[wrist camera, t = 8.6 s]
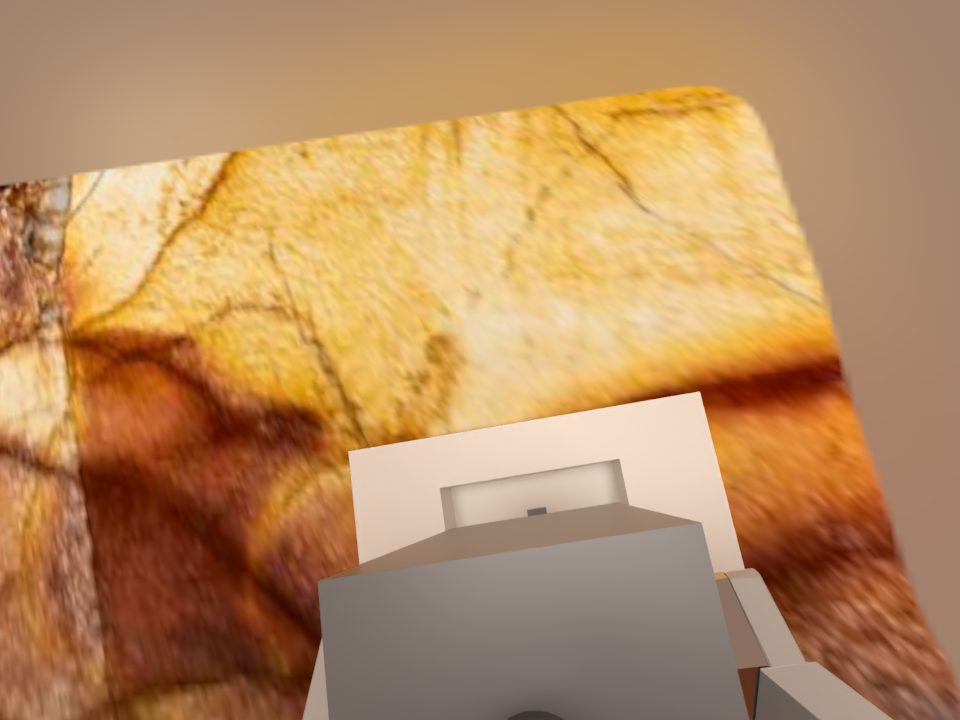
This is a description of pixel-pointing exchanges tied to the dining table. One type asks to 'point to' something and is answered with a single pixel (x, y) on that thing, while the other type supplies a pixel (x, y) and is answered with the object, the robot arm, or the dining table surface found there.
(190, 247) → the dining table surface
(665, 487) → the socket
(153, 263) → the dining table surface
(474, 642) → the plug
